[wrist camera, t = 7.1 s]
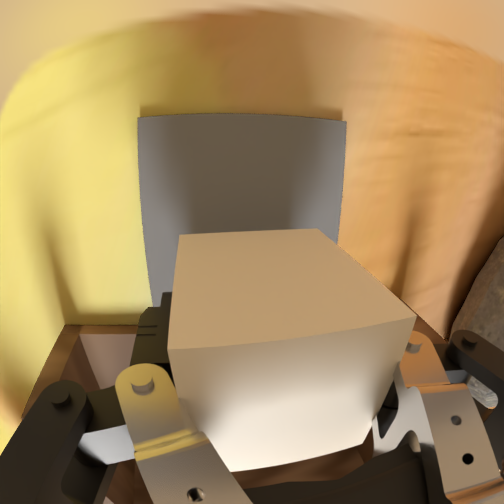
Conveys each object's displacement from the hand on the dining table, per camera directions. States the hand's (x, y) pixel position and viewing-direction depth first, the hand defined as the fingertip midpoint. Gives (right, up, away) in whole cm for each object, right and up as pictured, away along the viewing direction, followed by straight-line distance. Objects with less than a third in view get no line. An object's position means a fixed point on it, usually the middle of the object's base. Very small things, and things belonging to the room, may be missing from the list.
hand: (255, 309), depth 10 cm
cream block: (0, 0, +1) cm, 1 cm away
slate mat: (0, +4, +3) cm, 5 cm away
